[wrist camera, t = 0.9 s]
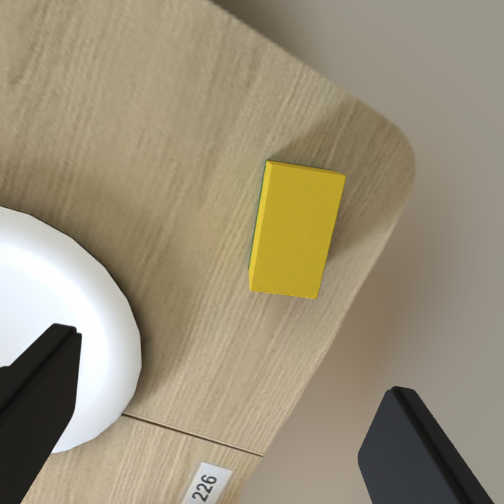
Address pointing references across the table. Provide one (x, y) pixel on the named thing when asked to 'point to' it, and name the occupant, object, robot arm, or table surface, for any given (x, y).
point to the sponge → (293, 228)
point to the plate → (68, 317)
